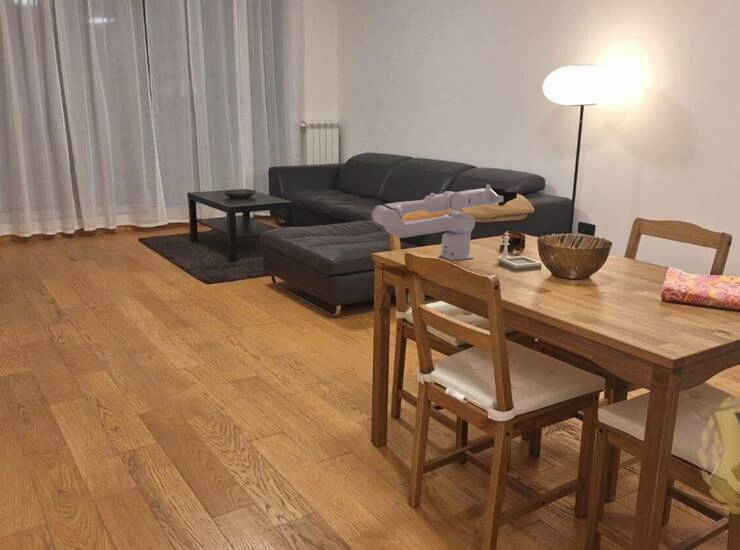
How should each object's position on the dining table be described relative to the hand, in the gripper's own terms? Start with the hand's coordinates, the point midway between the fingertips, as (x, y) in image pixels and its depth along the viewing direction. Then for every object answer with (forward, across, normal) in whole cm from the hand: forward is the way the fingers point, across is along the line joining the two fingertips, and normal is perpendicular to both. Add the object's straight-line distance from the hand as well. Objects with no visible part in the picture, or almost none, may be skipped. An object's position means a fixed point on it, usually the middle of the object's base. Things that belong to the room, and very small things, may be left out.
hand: (510, 193), depth 230 cm
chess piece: (-8, -9, +21) cm, 24 cm away
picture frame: (-8, -18, +21) cm, 29 cm away
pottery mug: (+3, +2, +22) cm, 23 cm away
